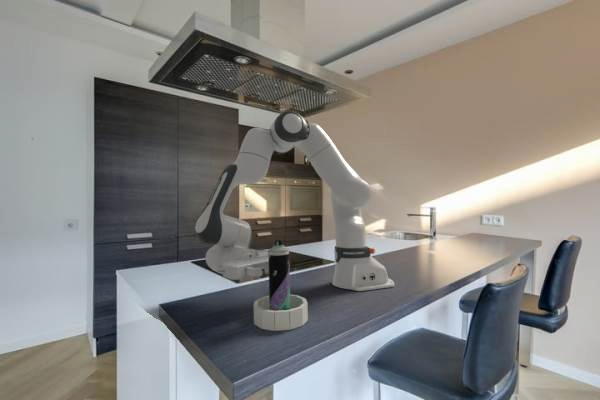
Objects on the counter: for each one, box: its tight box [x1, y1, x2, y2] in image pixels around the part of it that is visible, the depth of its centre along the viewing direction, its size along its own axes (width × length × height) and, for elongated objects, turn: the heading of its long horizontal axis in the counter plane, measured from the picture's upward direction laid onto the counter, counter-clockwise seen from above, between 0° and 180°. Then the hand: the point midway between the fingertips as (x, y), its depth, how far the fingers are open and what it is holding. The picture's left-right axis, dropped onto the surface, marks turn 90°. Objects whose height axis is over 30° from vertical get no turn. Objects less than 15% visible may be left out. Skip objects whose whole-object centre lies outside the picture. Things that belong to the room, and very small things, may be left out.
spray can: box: [268, 239, 291, 311], centre depth 79 cm, size 6×6×20 cm
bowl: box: [253, 293, 309, 332], centre depth 79 cm, size 14×14×4 cm
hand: (276, 269), depth 80 cm, fingers open, 8 cm apart
